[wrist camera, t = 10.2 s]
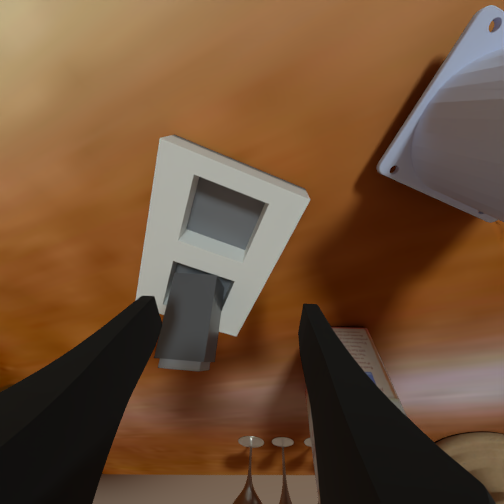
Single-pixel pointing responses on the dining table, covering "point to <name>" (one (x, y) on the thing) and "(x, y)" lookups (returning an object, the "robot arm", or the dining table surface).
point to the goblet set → (248, 498)
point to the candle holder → (480, 458)
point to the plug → (191, 323)
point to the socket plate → (215, 225)
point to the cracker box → (369, 361)
